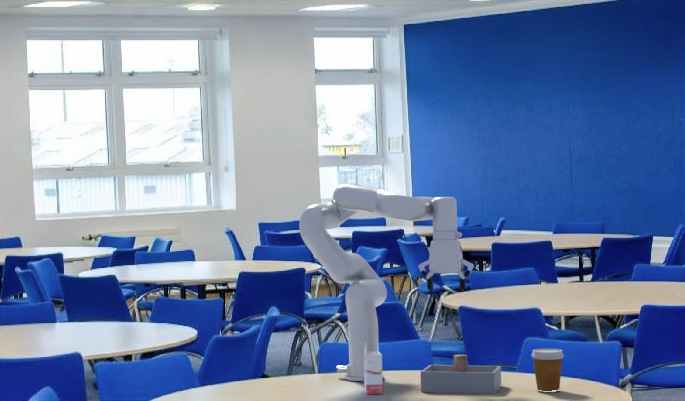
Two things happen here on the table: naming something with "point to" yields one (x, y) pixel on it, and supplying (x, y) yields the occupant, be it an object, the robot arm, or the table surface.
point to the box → (461, 379)
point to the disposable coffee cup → (547, 368)
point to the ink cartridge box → (372, 372)
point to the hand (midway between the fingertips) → (446, 291)
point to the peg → (460, 363)
